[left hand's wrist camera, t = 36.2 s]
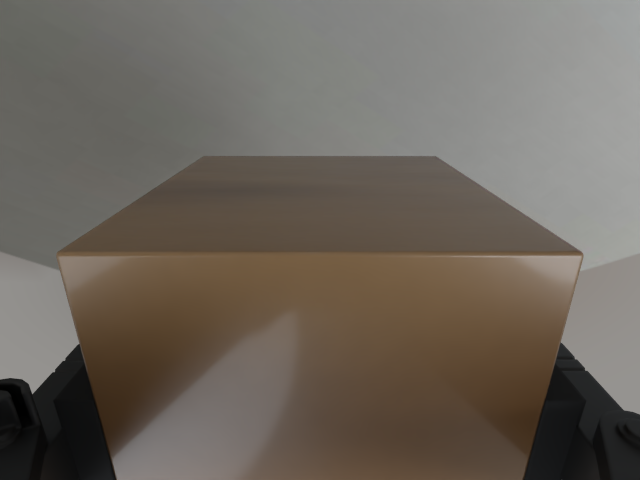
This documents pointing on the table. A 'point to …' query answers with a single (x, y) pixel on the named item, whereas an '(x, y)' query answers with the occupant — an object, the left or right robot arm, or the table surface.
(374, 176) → the block
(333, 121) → the table surface
